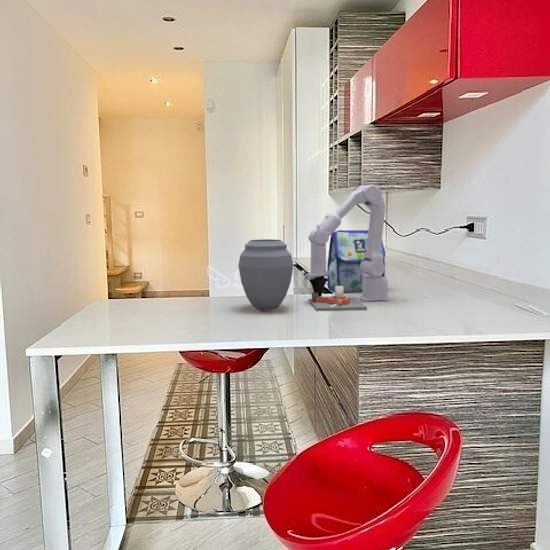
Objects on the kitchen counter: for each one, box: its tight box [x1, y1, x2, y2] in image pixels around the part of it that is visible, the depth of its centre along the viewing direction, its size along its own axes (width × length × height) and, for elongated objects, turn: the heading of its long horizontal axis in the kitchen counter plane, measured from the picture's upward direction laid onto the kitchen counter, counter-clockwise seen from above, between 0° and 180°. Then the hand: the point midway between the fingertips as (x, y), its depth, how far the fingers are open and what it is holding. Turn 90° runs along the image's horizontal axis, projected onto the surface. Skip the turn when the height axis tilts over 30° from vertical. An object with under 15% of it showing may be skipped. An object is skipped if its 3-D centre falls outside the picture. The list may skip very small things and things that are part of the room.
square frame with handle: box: [311, 292, 351, 304], centre depth 197 cm, size 14×7×3 cm, turn 74°
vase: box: [238, 239, 294, 311], centre depth 190 cm, size 20×20×24 cm
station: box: [308, 286, 368, 312], centre depth 196 cm, size 18×19×7 cm
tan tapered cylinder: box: [337, 300, 342, 306], centre depth 190 cm, size 2×2×2 cm
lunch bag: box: [326, 229, 386, 293], centre depth 229 cm, size 22×17×26 cm
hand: (318, 296), depth 202 cm, fingers closed
